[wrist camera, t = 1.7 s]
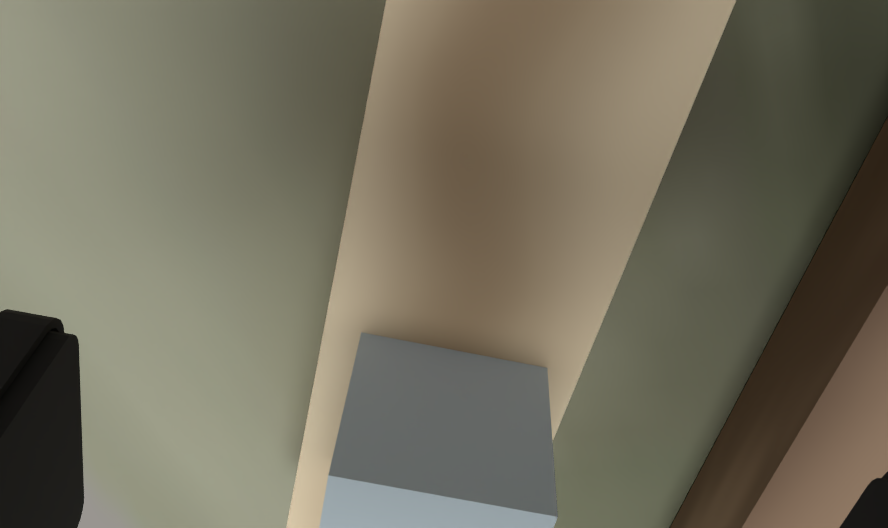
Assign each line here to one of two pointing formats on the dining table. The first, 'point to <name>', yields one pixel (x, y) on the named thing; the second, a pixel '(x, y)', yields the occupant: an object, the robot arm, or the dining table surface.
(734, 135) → the dining table surface
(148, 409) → the dining table surface
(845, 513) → the dock
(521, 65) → the beige rectangular bar
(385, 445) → the block
